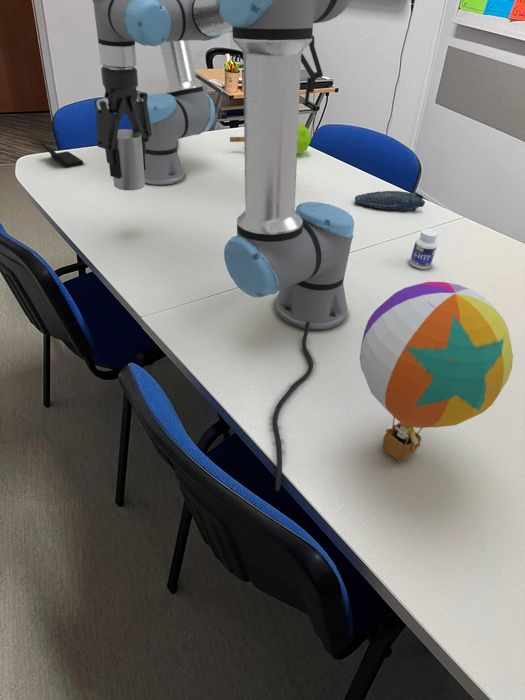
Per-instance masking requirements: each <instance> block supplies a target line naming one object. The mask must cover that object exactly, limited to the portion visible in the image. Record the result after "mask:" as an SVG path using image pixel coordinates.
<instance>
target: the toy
mask: <svg viewBox="0 0 525 700" xmlns="http://www.w3.org/2000/svg"><path fill="white" fill-rule="evenodd" d="M510 336H511V335H510V332H509V327H508V325H507V323H506V321H505V319H504V317H503V316H502V315H501V314H500V312H499V311H498V310H497V309H496V307H494V305H493V304H492V303H491V302H490V301H489V300H488V299H487V298H485V297H484V296H482V295H481V294H479V293H478V292H476V291H475V290H473V289H470V288H468V287H465V286H463V285H460V284H457V283H451V282H446V281H425V282H421V283H417V284H414V285H409V286H407V287H404V288H402V289H399V290H398V291H396V292H395V293H393V294H392V295H391V296H390V297H388V298H387V299H386V300H385V301H384V302H383V303H381V305H380V306H378V307H377V308H375V310H374V311H373V313H372V314H371V315H370V317H369V318H368V319H367V322H366V325H365V328H364V331H363V336H362V340H361V344H360V353H359V363H360V369H361V371H362V374H363V377H364V379H365V381H366V384H367V387H368V388H369V390H370V393H371V395H372V396H374V398H375V399H376V400H377V401H378V402H379V404H380V405H381V406H382V407H383V408H384V409H385V410H386V411H388V413H389V414H390V415H391V416H392V417H393V421H392V426H391V428H386V430H385V433H384V437H383V440H382V449H383V450H384V451H385V452H386V453H387V454H389V456H391V457H392V458H393V459H395V460H396V461H397V462H399V463H403V462H405V460H407V459H408V458H409V457H410V456H411V455H413V454H414V453H415V452H416V450H417V449H418V448H420V447H421V441H422V436H421V435H420V434H419V433H420V432H421V431H422V430H423V429H424V428H425V429H428V428H443V427H452V426H457V425H459V424H461V423H463V422H466V421H468V420H470V419H472V418H474V417H477V416H479V415H480V414H481V415H482V414H483V413H484V412H486V411H487V410H489V408H490V407H491V406H492V405H494V403H495V401H496V400H497V398H498V397H499V395H500V393H501V392H502V390H503V388H504V387H505V386H506V384H507V383H508V381H509V378H510V376H511V372H512V370H513V359H514V353H513V347H512V342H511V337H510ZM395 420H397V421H398V422H399V423H397V424H395ZM415 428H417V429H419V428H420V429H419V430H418V431H417V432H416V430H415Z"/></svg>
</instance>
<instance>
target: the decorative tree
mask: <svg viewBox="0 0 525 700" xmlns="http://www.w3.org/2000/svg"><path fill="white" fill-rule="evenodd" d="M311 140H312V134H311V131H310V130H309V129H308V128H307V127H306V126H305V125H304V124H303V123H298V142H297V155H299V154H302V153H303V152H305V151H307V149H308V148H309V146H310V145H311ZM229 142H230V143H242V142H243V143H244V136H229Z"/></svg>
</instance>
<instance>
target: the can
mask: <svg viewBox="0 0 525 700" xmlns="http://www.w3.org/2000/svg"><path fill="white" fill-rule="evenodd" d="M109 144H110V143H109ZM115 149H117V150H118V154H119V164H120V174H121V178H120V179H118V178H115V177H112V180H113V186H114V188H116V189H118V190H121V191H138V190H141V189H143V188H145V186H146V183H145V179H144V165H143V151H142V137H141V133H140V132H138V131H135V130H133V129H128V128H125V129H124V128H122V129H120V128H119V129H118V134H117V140H116V145H115Z"/></svg>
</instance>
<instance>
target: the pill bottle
mask: <svg viewBox="0 0 525 700" xmlns="http://www.w3.org/2000/svg"><path fill="white" fill-rule="evenodd" d="M438 235H439V233H438V231H435V230H434V229H430V228H423V229H422V230H421V231H420V235H419V237H417V238H416V239H415V242H414V245H413V249H412V252H411V255H410V259H409V264H410V265H411V266H413V267H414V268H417V269H420V270H421V269H422V270H426V269H429V268H430V267H431V265H432V264H433V263H432V262H433V259H434V256H435V254H436V250H437V247H438V242H437V238H438Z"/></svg>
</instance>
